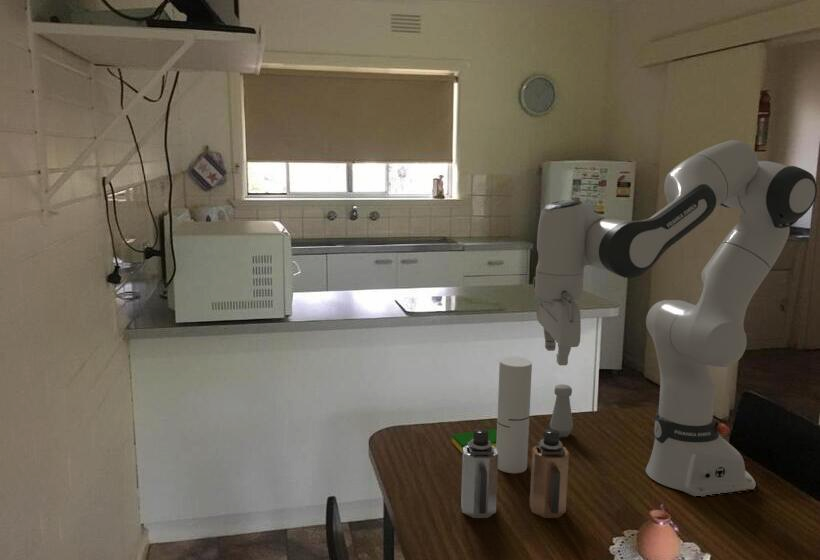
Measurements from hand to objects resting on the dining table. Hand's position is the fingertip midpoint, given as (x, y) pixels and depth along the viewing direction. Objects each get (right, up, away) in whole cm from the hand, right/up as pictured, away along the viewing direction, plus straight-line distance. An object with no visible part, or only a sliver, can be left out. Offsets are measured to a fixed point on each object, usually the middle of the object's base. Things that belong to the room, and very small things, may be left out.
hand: (555, 356), depth 128 cm
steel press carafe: (-14, -32, +4) cm, 35 cm away
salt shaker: (+11, -25, +43) cm, 50 cm away
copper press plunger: (0, -27, +5) cm, 28 cm away
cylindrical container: (-5, -28, +24) cm, 38 cm away
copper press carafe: (0, -32, +5) cm, 32 cm away
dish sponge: (-10, -26, +36) cm, 46 cm away
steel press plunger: (-14, -27, +5) cm, 31 cm away
